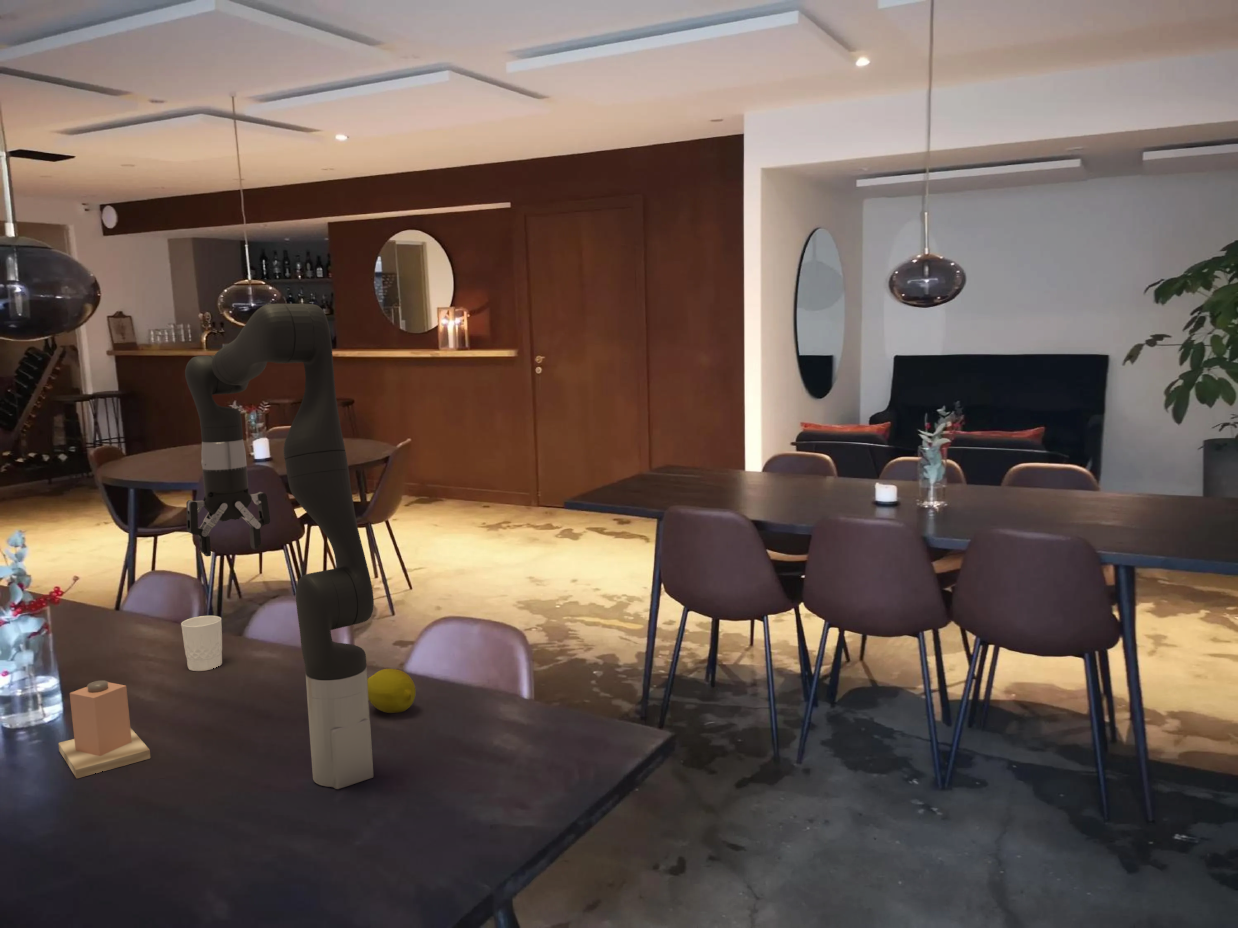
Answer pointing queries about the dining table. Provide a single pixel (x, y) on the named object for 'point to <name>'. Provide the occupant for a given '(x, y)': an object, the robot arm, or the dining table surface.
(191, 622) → the white cup
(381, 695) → the lemon
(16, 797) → the dining table surface
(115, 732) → the square capped bottle
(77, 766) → the shaft board
